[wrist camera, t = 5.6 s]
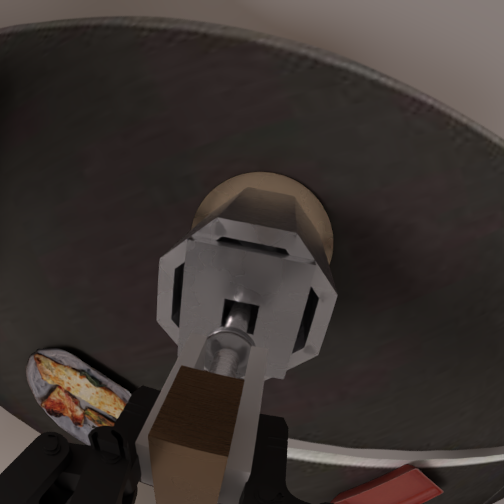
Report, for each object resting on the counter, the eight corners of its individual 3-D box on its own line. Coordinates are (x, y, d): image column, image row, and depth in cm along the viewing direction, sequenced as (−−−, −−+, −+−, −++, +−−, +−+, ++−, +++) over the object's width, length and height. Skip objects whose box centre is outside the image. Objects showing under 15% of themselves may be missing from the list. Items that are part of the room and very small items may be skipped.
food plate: (29, 395, 47) (20, 406, 44) (36, 315, 40) (23, 326, 37) (137, 462, 50) (131, 475, 46) (178, 404, 42) (172, 421, 39)
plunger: (204, 299, 27) (101, 500, 9) (215, 218, 24) (59, 389, 7) (287, 316, 26) (272, 543, 9) (307, 236, 24) (336, 460, 6)
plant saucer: (441, 481, 44) (444, 492, 41) (367, 514, 50) (368, 525, 46) (412, 453, 41) (416, 467, 38) (324, 492, 47) (325, 506, 43)
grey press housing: (185, 299, 35) (131, 384, 22) (202, 160, 30) (133, 175, 16) (311, 325, 35) (317, 425, 21) (346, 188, 30) (392, 225, 16)
